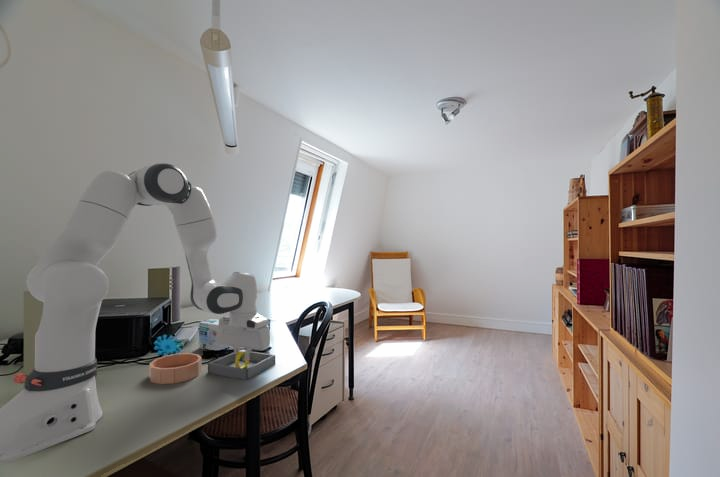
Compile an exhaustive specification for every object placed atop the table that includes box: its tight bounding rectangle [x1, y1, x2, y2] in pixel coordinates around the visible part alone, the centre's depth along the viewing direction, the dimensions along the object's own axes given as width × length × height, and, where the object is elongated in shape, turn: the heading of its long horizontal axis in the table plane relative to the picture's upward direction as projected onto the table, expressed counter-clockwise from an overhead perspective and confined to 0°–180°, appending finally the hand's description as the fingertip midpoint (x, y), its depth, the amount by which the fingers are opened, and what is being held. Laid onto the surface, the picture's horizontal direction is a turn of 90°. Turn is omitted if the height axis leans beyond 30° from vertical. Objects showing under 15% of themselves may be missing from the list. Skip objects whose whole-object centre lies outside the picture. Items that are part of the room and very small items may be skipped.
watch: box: [234, 349, 251, 369], centre depth 120 cm, size 6×3×6 cm, turn 160°
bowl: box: [148, 352, 203, 385], centre depth 114 cm, size 15×15×4 cm
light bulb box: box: [198, 318, 222, 350], centre depth 142 cm, size 11×7×11 cm, turn 65°
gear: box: [153, 334, 184, 357], centre depth 132 cm, size 11×6×10 cm
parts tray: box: [207, 351, 276, 381], centre depth 120 cm, size 16×16×3 cm
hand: (242, 359), depth 120 cm, fingers closed on watch
